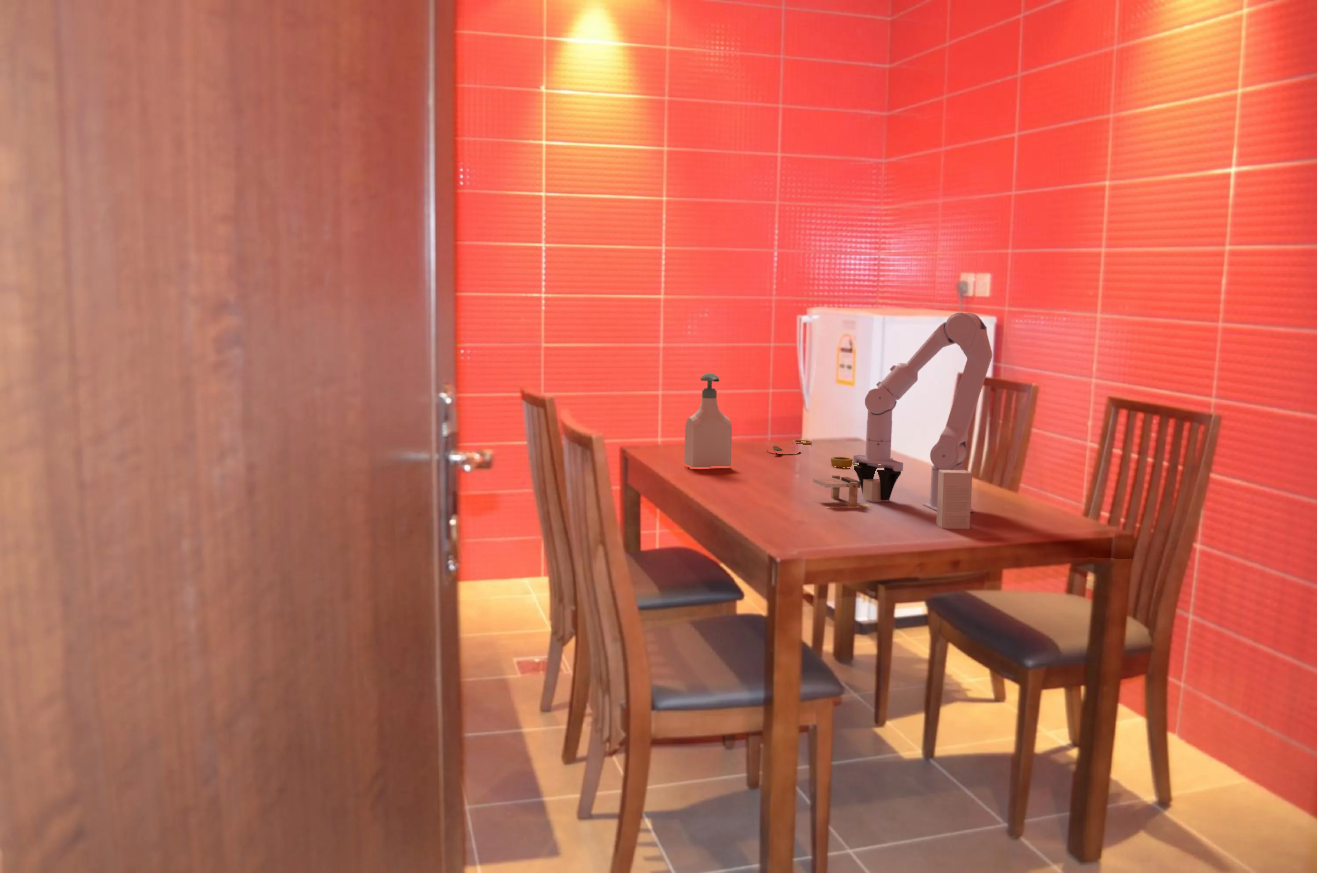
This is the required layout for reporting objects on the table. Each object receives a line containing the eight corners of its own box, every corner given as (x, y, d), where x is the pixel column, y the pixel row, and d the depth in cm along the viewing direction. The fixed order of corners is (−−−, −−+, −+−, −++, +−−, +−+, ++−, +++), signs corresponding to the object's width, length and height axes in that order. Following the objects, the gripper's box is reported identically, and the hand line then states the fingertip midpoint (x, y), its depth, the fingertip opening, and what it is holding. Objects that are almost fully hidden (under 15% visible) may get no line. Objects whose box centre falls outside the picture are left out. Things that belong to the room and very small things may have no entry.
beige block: (889, 505, 245) (890, 481, 244) (871, 505, 244) (872, 482, 243) (880, 501, 249) (881, 478, 249) (862, 502, 248) (863, 479, 248)
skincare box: (963, 525, 223) (966, 469, 222) (970, 529, 219) (973, 472, 217) (934, 525, 223) (937, 469, 221) (940, 529, 218) (944, 472, 217)
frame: (851, 501, 249) (852, 474, 248) (872, 510, 238) (873, 482, 238) (807, 502, 246) (808, 475, 246) (826, 511, 236) (828, 483, 235)
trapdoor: (846, 482, 246) (846, 476, 246) (861, 488, 239) (861, 482, 239) (812, 483, 244) (813, 477, 244) (826, 489, 237) (826, 482, 236)
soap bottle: (695, 478, 279) (697, 374, 275) (684, 473, 286) (686, 372, 283) (733, 476, 282) (736, 374, 279) (721, 472, 290) (724, 372, 287)
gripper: (913, 442, 241) (910, 501, 242) (869, 435, 253) (867, 491, 255) (891, 444, 237) (888, 503, 239) (847, 437, 249) (845, 493, 251)
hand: (876, 497), depth 247 cm, fingers closed on beige block, 6 cm apart
